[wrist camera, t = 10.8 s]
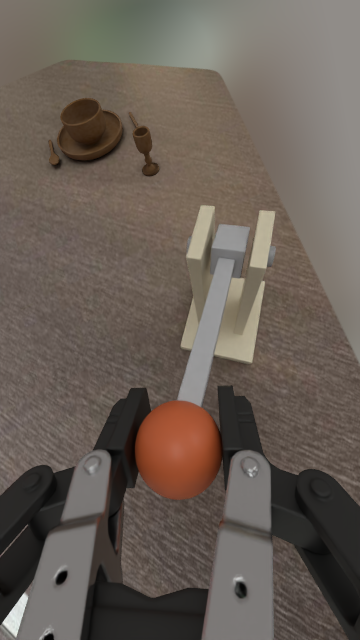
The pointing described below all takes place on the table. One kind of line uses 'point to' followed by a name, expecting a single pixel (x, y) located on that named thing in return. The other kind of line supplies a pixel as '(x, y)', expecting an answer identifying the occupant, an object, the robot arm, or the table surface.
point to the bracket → (242, 294)
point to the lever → (192, 393)
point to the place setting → (97, 134)
